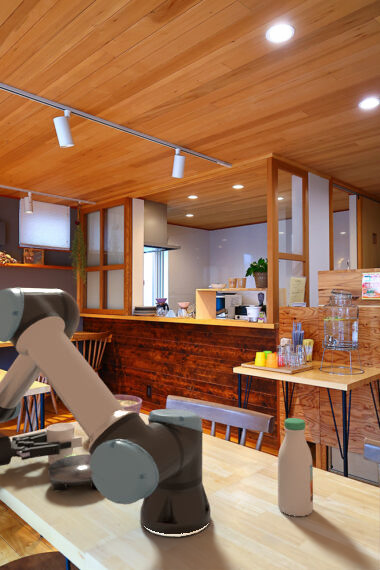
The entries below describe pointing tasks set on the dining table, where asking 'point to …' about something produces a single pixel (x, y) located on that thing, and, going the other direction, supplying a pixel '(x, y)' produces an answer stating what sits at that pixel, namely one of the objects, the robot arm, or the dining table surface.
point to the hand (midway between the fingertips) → (76, 437)
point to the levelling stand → (71, 472)
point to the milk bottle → (295, 471)
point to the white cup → (59, 438)
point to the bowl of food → (129, 402)
